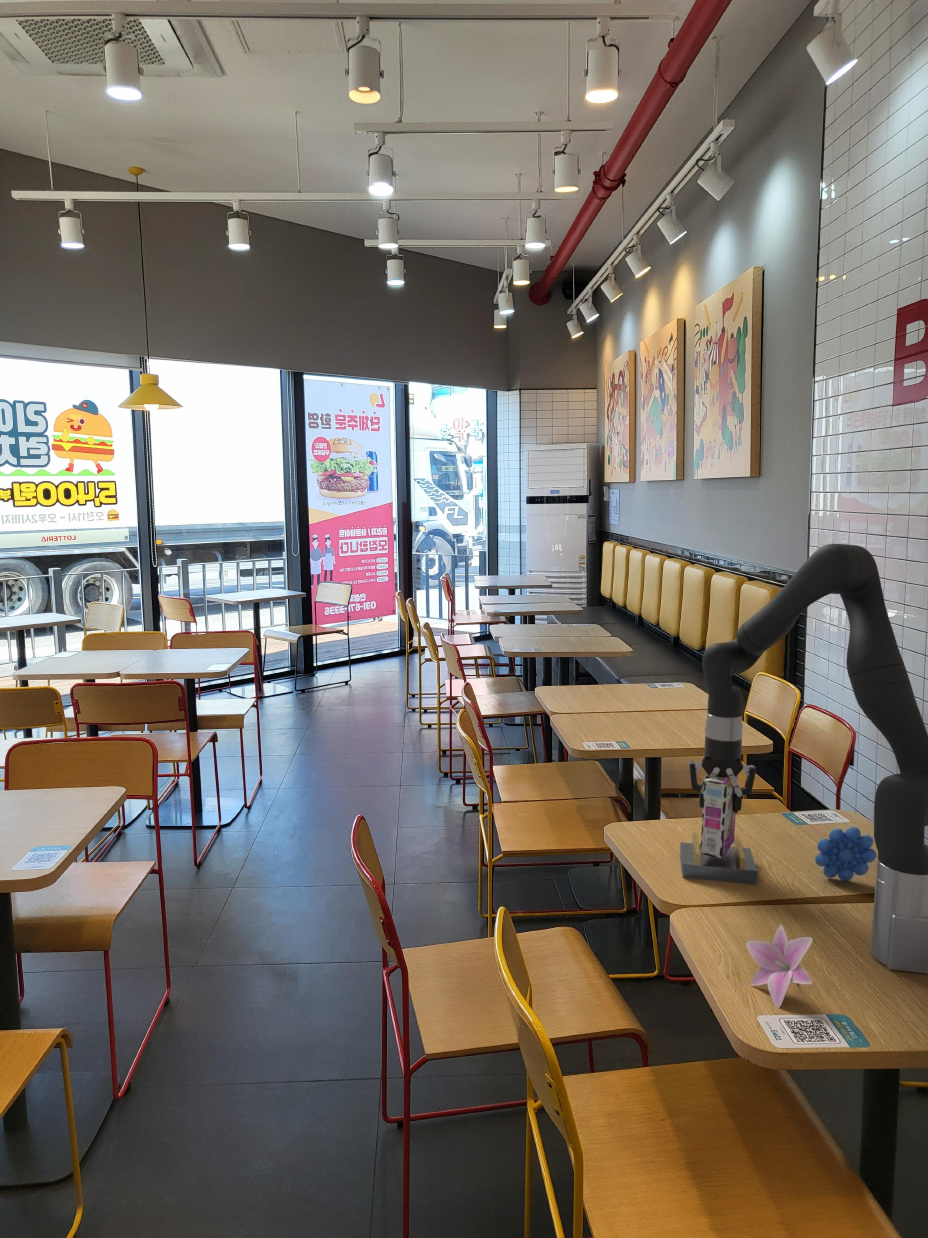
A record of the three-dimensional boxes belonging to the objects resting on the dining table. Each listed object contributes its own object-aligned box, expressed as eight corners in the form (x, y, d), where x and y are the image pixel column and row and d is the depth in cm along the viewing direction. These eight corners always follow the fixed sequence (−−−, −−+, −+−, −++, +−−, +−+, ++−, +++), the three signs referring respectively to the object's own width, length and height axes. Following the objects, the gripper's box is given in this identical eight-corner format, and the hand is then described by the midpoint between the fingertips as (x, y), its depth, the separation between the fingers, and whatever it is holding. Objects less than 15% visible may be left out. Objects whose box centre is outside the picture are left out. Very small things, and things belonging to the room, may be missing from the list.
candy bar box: (723, 860, 173) (727, 784, 171) (699, 855, 175) (702, 780, 173) (735, 842, 182) (739, 770, 180) (712, 837, 185) (716, 766, 183)
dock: (756, 884, 172) (758, 859, 171) (682, 877, 175) (683, 852, 174) (749, 861, 184) (750, 837, 183) (679, 855, 187) (680, 831, 186)
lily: (744, 969, 142) (728, 931, 138) (811, 948, 140) (797, 909, 136) (768, 1030, 131) (752, 991, 127) (841, 1009, 129) (828, 968, 125)
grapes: (872, 877, 176) (876, 823, 175) (875, 890, 170) (879, 834, 168) (813, 868, 180) (816, 815, 179) (814, 881, 174) (817, 826, 172)
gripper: (689, 737, 173) (686, 814, 176) (761, 741, 170) (757, 819, 173) (687, 728, 181) (684, 802, 183) (756, 732, 178) (752, 807, 180)
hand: (719, 810), depth 178 cm, fingers closed on candy bar box, 6 cm apart
